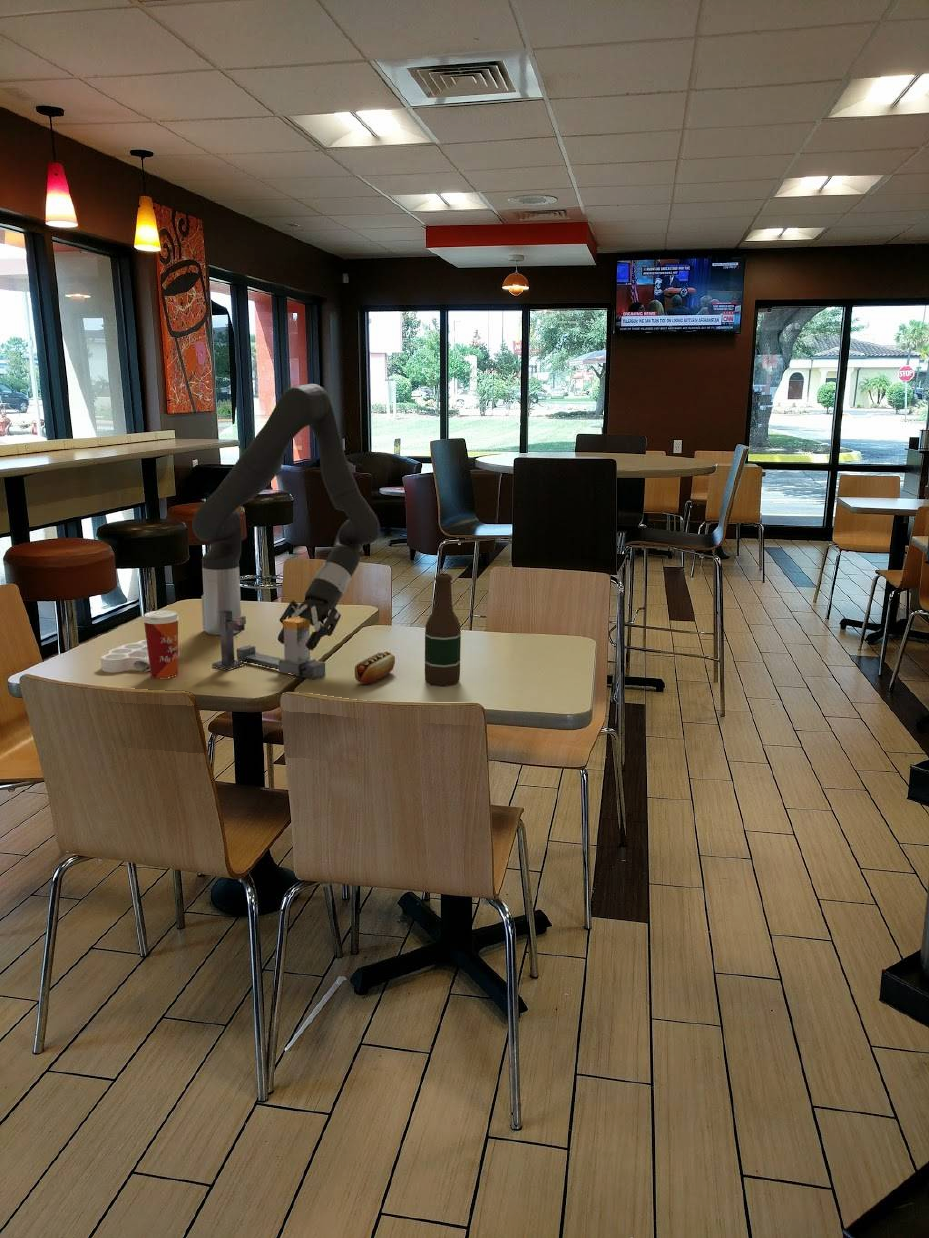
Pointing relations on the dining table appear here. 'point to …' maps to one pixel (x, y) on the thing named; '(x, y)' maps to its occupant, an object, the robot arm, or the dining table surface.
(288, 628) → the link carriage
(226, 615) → the hook
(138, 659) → the white tray with holes
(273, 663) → the rail
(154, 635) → the paper cup
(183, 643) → the dining table surface
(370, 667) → the hot dog
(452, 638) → the beer bottle
